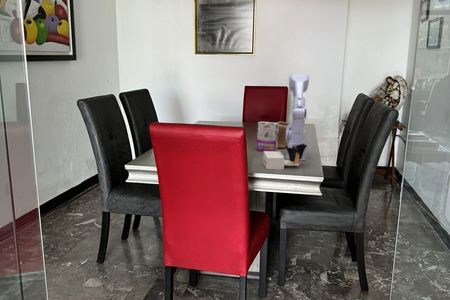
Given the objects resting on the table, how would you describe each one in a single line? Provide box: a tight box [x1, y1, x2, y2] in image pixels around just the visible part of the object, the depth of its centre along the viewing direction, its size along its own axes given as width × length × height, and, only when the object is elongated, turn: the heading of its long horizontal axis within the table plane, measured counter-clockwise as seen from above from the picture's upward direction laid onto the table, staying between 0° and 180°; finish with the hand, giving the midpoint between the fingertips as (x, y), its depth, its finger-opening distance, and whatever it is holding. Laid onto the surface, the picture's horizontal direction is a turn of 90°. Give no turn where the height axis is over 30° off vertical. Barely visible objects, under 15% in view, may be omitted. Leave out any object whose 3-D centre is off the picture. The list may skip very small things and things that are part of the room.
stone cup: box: [276, 121, 290, 149], centre depth 238 cm, size 15×12×15 cm
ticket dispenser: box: [262, 150, 286, 171], centre depth 195 cm, size 8×14×6 cm, turn 2°
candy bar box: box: [256, 121, 279, 152], centre depth 225 cm, size 11×5×16 cm, turn 69°
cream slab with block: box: [284, 153, 300, 167], centre depth 195 cm, size 14×8×5 cm, turn 92°
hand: (295, 160), depth 195 cm, fingers open, 7 cm apart
